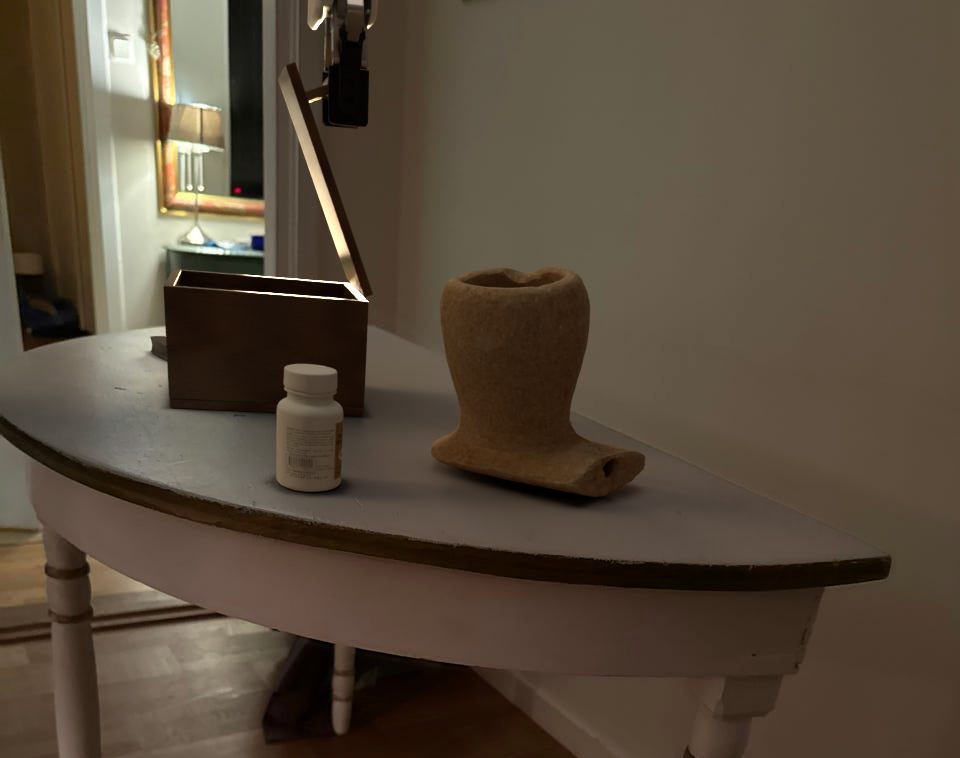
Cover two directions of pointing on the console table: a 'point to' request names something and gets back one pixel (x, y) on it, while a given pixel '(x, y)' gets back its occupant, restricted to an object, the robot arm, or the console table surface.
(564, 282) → the stone cup
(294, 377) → the pill bottle
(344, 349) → the chest
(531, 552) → the console table surface
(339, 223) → the lid
